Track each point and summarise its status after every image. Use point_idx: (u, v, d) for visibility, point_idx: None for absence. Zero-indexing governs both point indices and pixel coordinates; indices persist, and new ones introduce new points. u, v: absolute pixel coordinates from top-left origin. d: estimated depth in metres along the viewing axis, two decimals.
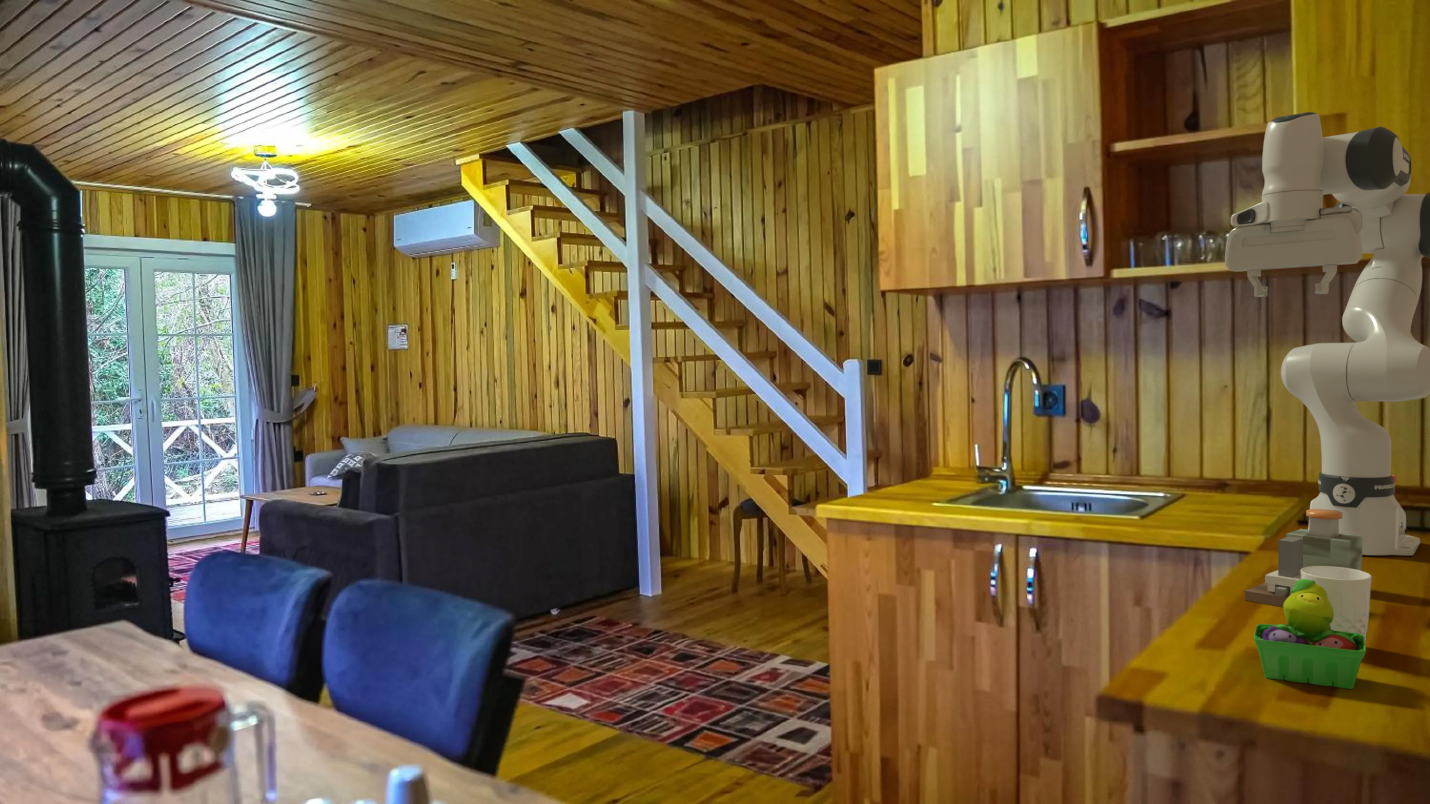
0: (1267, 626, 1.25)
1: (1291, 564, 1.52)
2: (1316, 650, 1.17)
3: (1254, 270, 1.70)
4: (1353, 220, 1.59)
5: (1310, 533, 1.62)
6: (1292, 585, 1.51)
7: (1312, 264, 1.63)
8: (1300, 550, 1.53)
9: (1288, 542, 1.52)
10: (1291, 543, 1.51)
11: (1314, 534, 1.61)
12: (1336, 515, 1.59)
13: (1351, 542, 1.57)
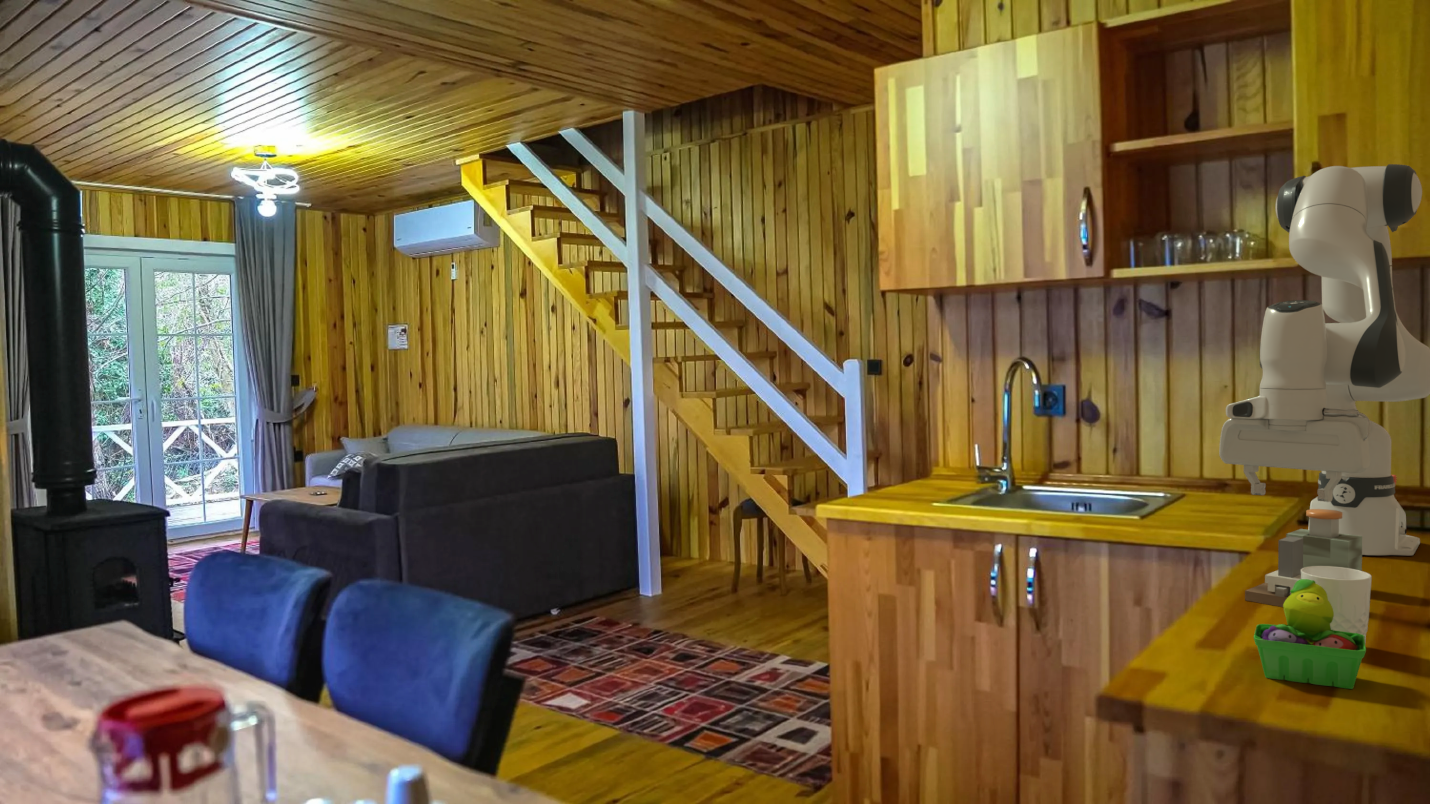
0: (1267, 626, 1.25)
1: (1291, 564, 1.52)
2: (1316, 650, 1.17)
3: (1251, 466, 1.56)
4: (1360, 426, 1.45)
5: (1310, 533, 1.62)
6: (1292, 585, 1.51)
7: (1314, 469, 1.49)
8: (1300, 550, 1.53)
9: (1288, 542, 1.52)
10: (1291, 543, 1.51)
11: (1314, 534, 1.61)
12: (1336, 515, 1.59)
13: (1351, 542, 1.57)
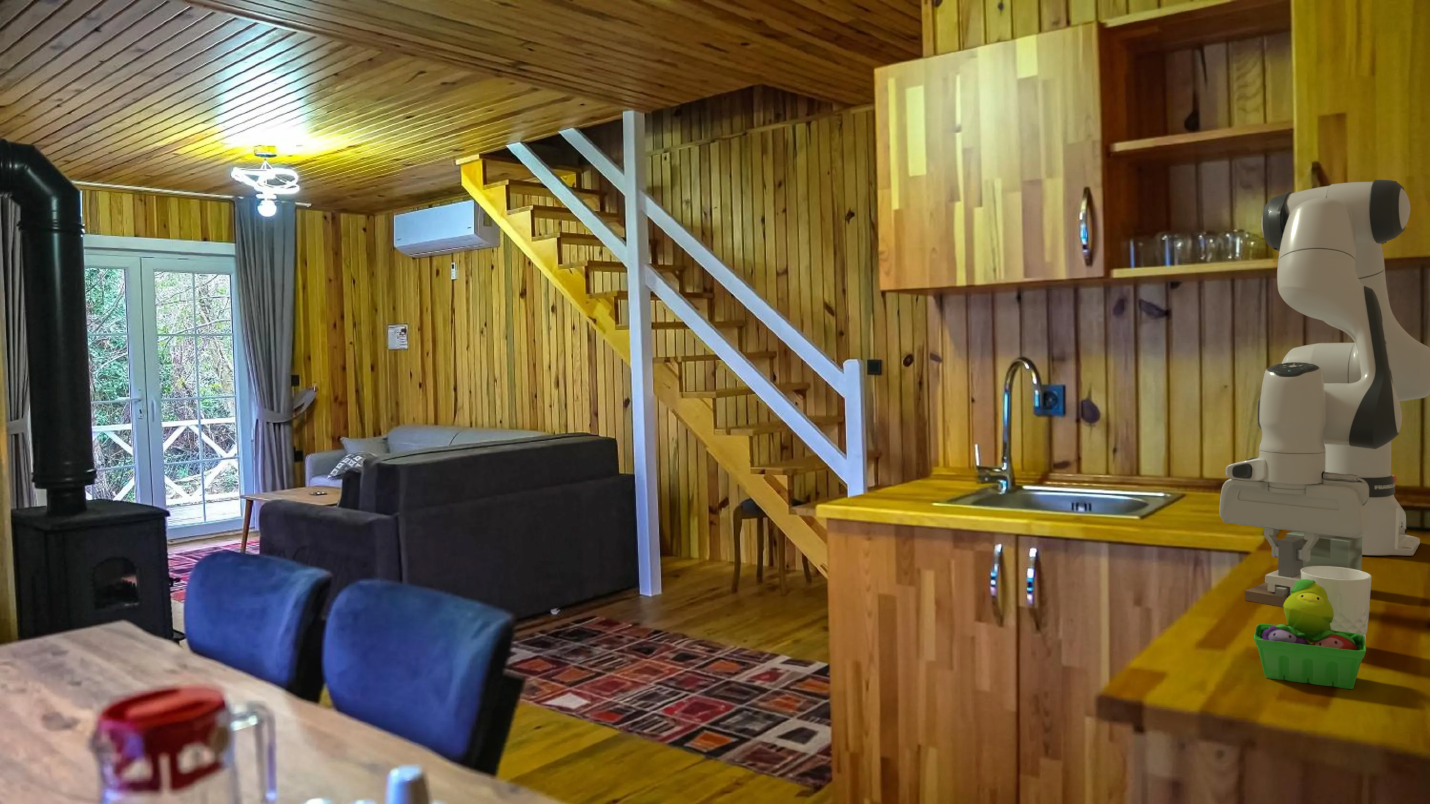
0: (1267, 626, 1.25)
1: (1291, 564, 1.52)
2: (1316, 650, 1.17)
3: (1271, 529, 1.54)
4: (1359, 491, 1.45)
5: None
6: (1292, 585, 1.51)
7: (1314, 532, 1.49)
8: None
9: (1288, 542, 1.52)
10: (1291, 543, 1.51)
11: None
12: None
13: (1351, 542, 1.57)
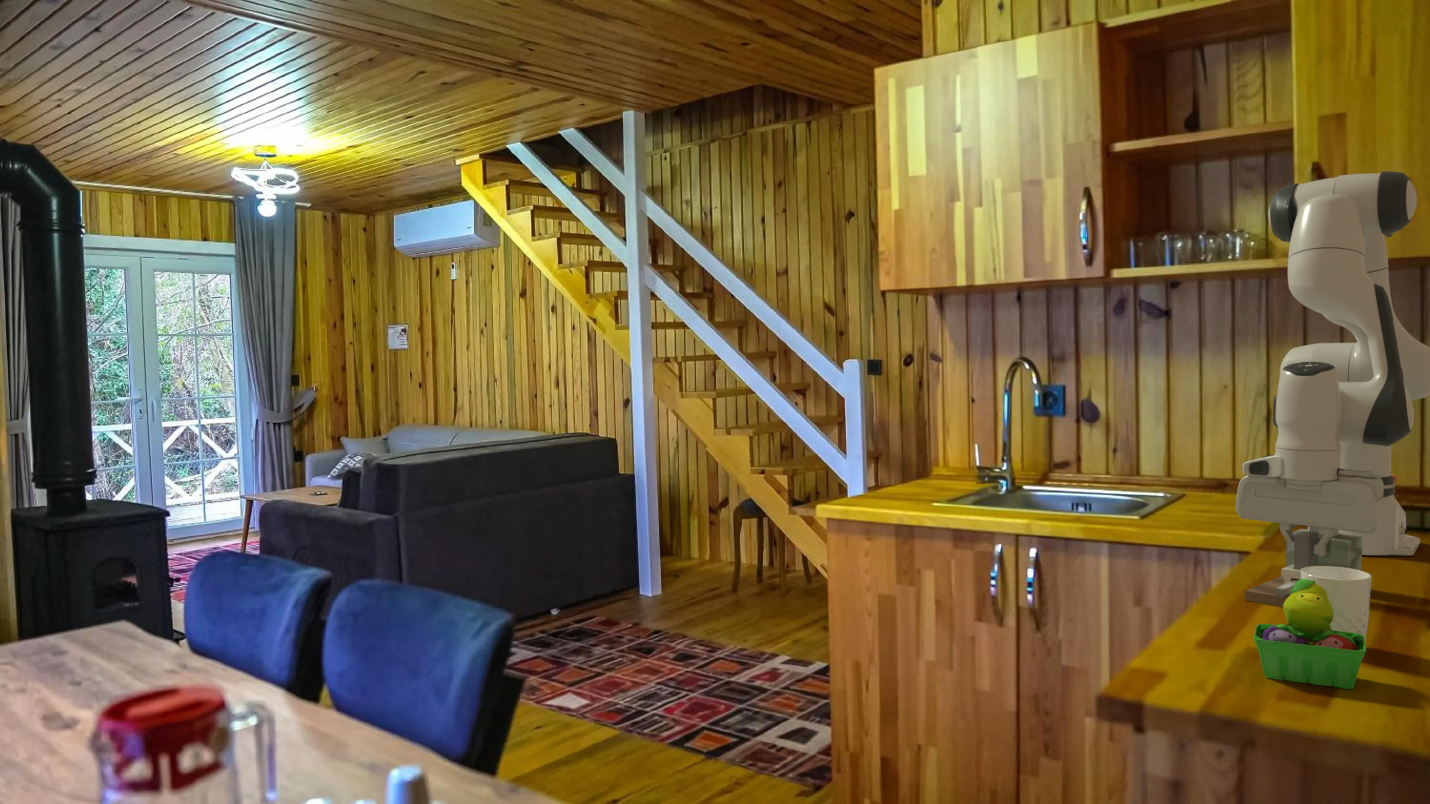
0: (1267, 626, 1.25)
1: (1307, 558, 1.55)
2: (1316, 650, 1.17)
3: (1287, 524, 1.58)
4: (1374, 488, 1.49)
5: None
6: None
7: (1330, 528, 1.53)
8: None
9: (1304, 536, 1.55)
10: (1307, 537, 1.55)
11: None
12: None
13: (1351, 542, 1.57)
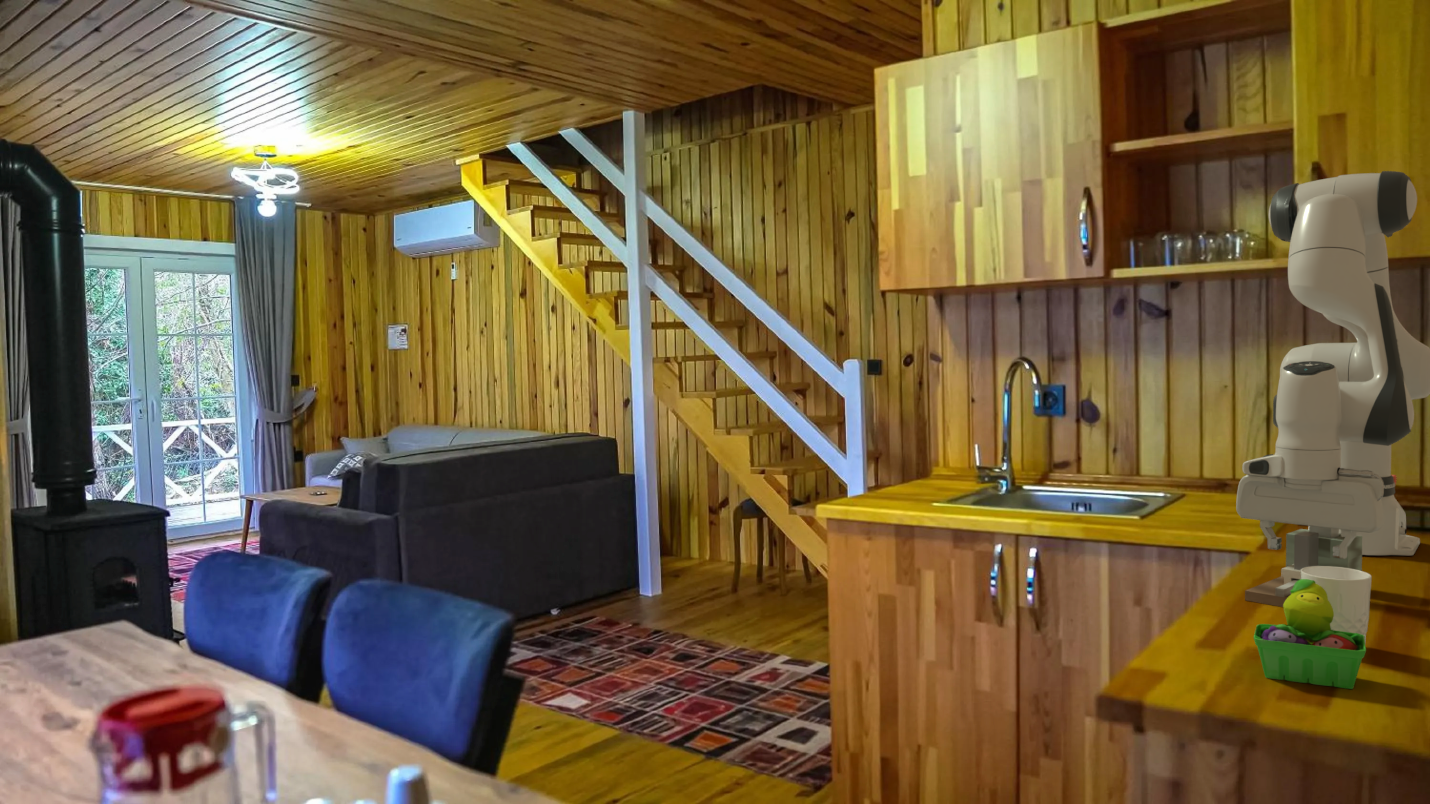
0: (1267, 626, 1.25)
1: (1307, 558, 1.55)
2: (1316, 650, 1.17)
3: (1267, 521, 1.60)
4: (1374, 487, 1.49)
5: None
6: None
7: (1330, 527, 1.53)
8: (1316, 544, 1.57)
9: (1304, 536, 1.56)
10: (1307, 537, 1.55)
11: None
12: None
13: (1351, 542, 1.57)
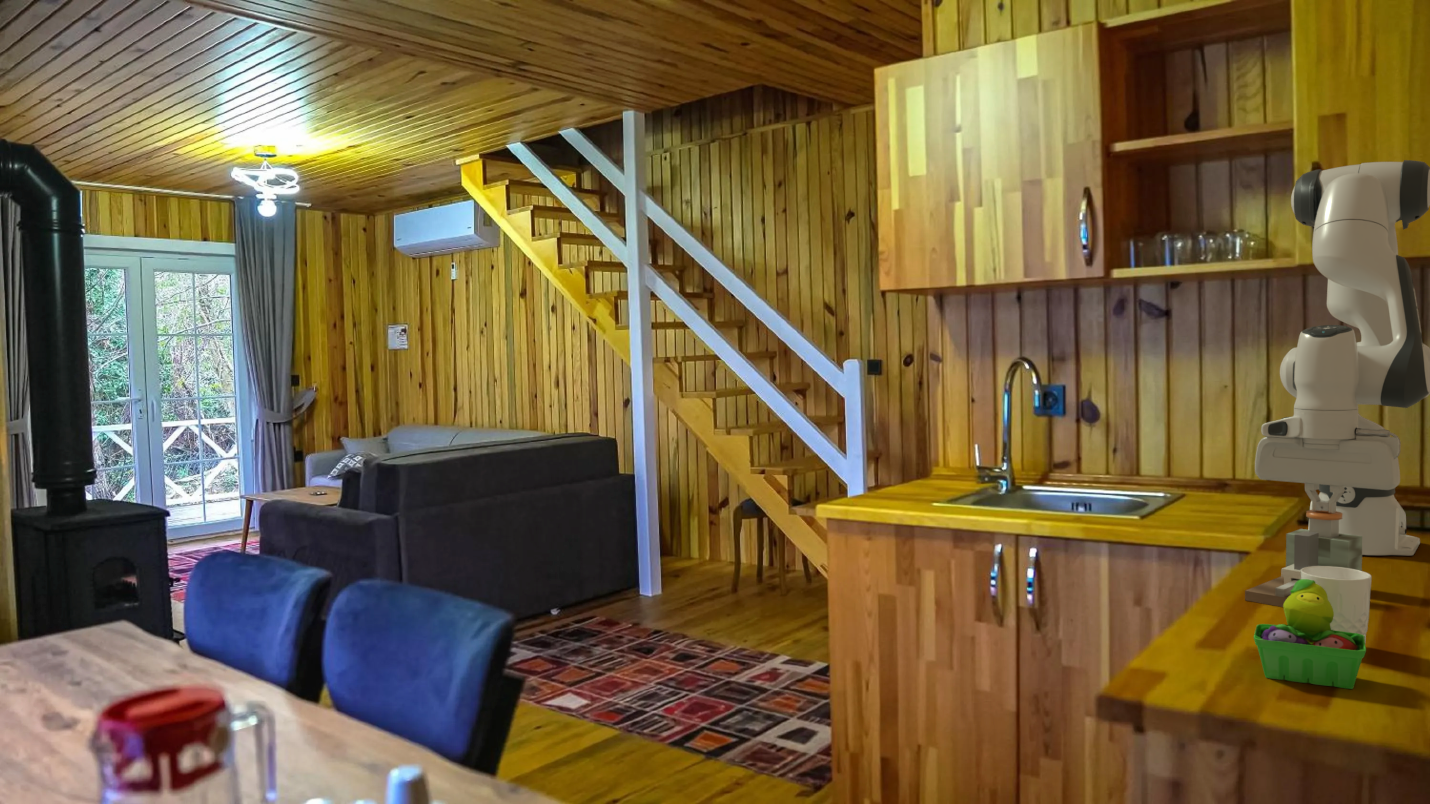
0: (1267, 626, 1.25)
1: (1307, 558, 1.55)
2: (1316, 650, 1.17)
3: (1312, 484, 1.61)
4: (1391, 445, 1.53)
5: None
6: None
7: (1347, 486, 1.57)
8: (1316, 544, 1.57)
9: (1304, 536, 1.56)
10: (1307, 537, 1.55)
11: None
12: (1336, 516, 1.59)
13: (1351, 542, 1.57)
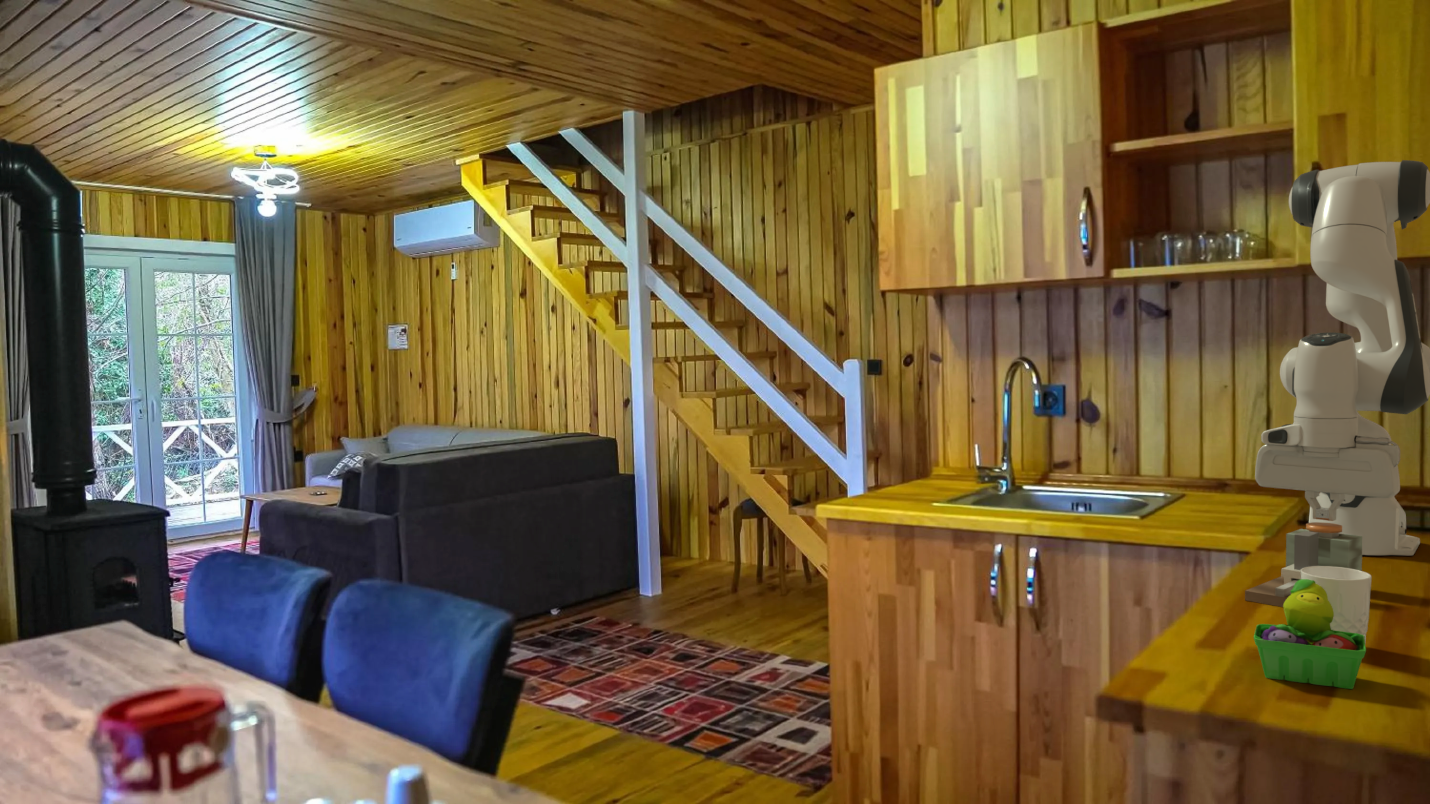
0: (1267, 626, 1.25)
1: (1307, 558, 1.55)
2: (1316, 650, 1.17)
3: (1312, 492, 1.62)
4: (1390, 454, 1.53)
5: None
6: None
7: (1347, 493, 1.57)
8: (1316, 544, 1.57)
9: (1304, 536, 1.56)
10: (1307, 537, 1.55)
11: None
12: (1336, 529, 1.59)
13: (1351, 542, 1.57)
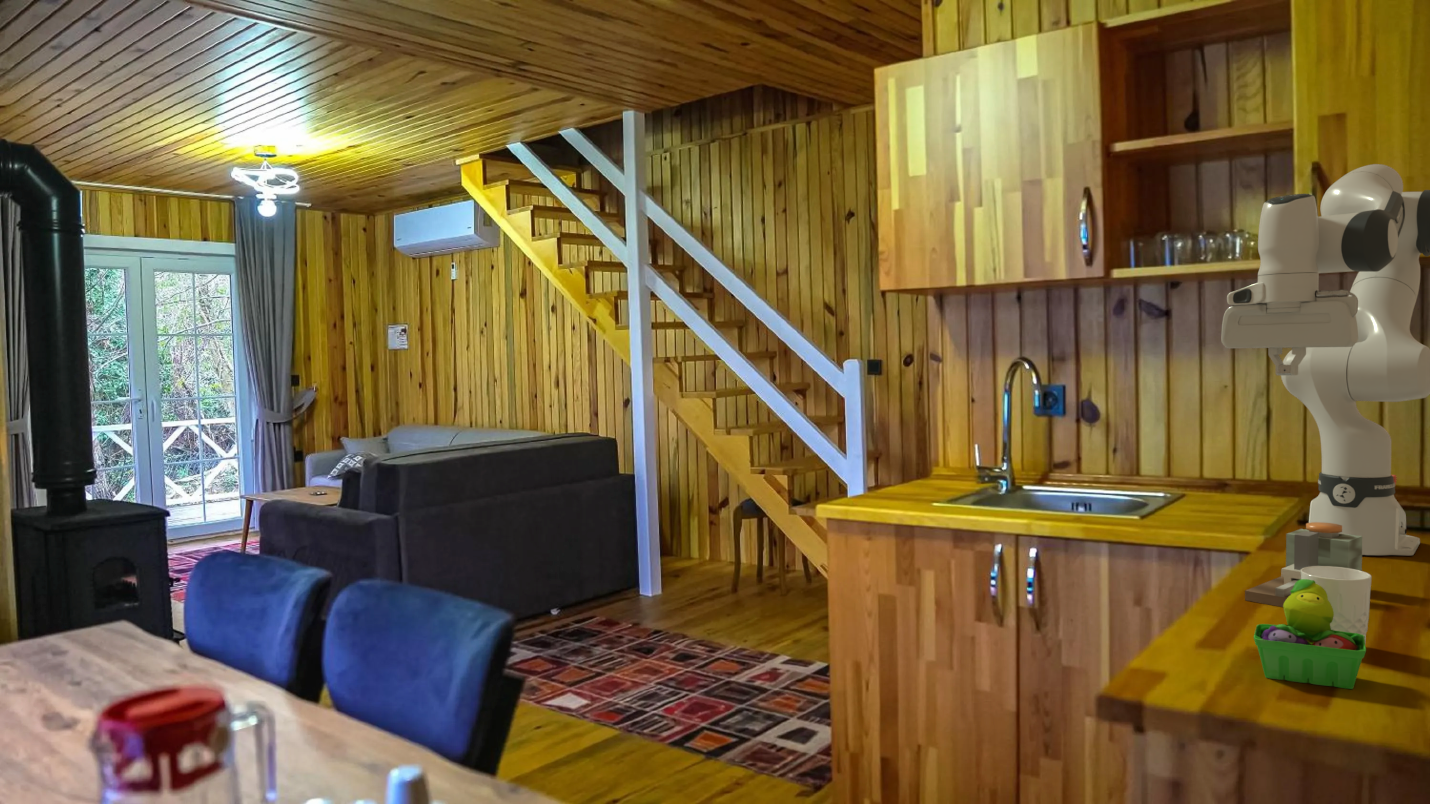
0: (1267, 626, 1.25)
1: (1307, 558, 1.55)
2: (1316, 650, 1.17)
3: (1275, 348, 1.67)
4: (1349, 304, 1.59)
5: None
6: None
7: (1308, 346, 1.63)
8: (1316, 544, 1.57)
9: (1304, 536, 1.56)
10: (1307, 537, 1.55)
11: None
12: (1336, 529, 1.59)
13: (1351, 542, 1.57)
